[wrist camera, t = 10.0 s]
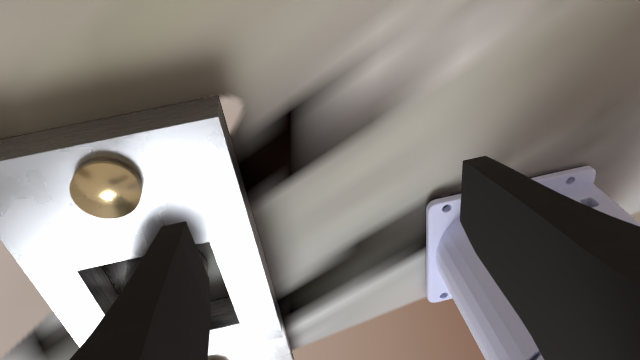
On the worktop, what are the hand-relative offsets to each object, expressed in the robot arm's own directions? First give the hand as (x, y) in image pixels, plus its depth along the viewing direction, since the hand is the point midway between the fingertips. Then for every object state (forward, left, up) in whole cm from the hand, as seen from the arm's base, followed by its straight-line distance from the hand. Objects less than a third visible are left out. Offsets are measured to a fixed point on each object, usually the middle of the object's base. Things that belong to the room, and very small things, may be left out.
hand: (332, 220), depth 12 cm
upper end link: (+8, +7, -9) cm, 14 cm away
